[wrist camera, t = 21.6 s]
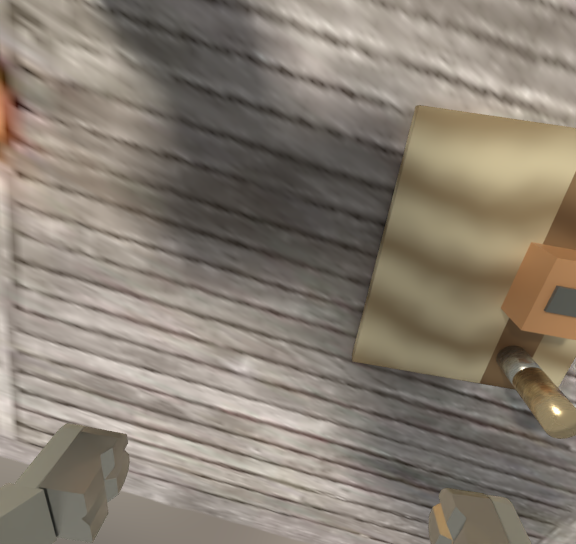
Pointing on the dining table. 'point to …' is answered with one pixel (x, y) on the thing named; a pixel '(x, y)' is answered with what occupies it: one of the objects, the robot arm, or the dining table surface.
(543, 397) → the amber glass vial
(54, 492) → the robot arm
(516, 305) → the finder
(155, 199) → the dining table surface
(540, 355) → the panel
